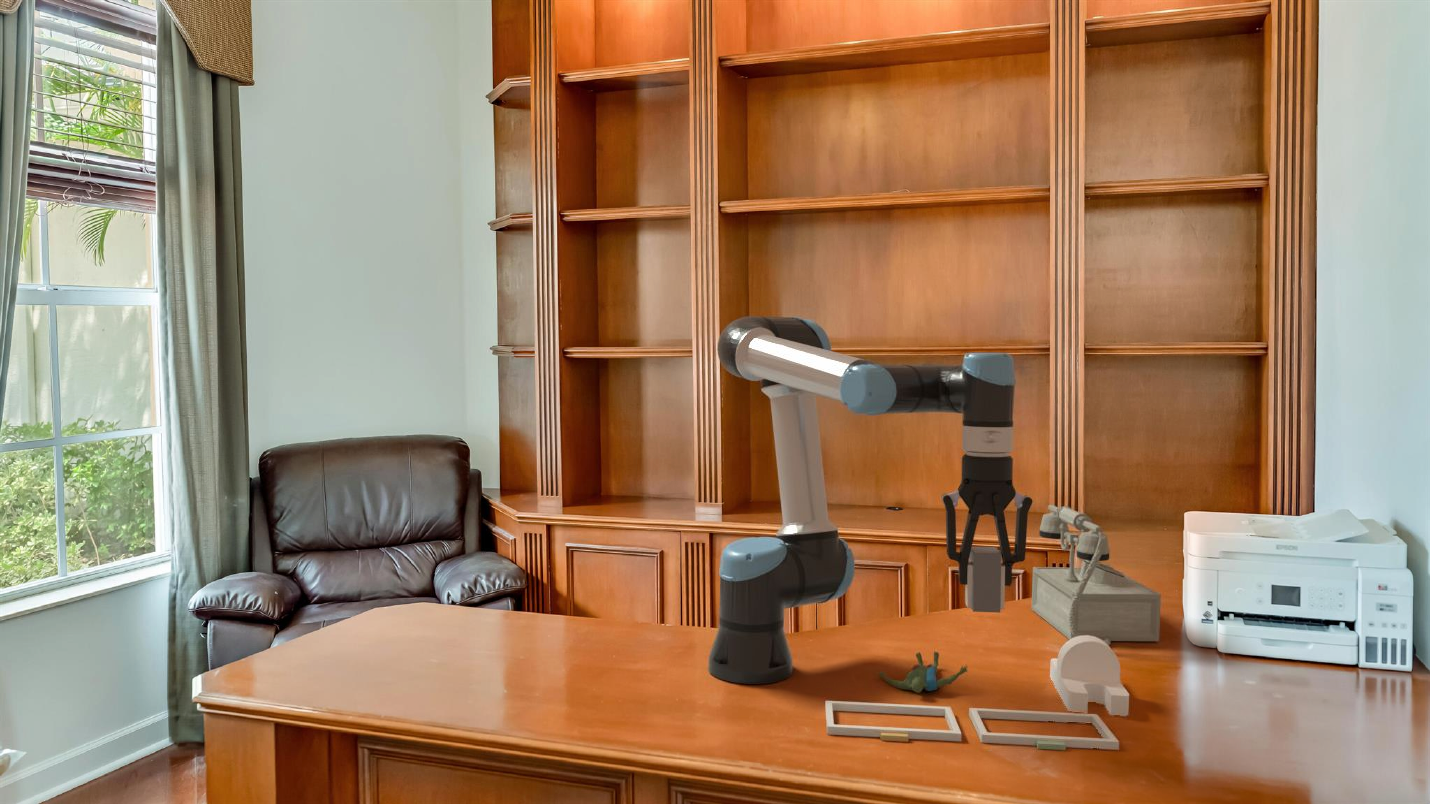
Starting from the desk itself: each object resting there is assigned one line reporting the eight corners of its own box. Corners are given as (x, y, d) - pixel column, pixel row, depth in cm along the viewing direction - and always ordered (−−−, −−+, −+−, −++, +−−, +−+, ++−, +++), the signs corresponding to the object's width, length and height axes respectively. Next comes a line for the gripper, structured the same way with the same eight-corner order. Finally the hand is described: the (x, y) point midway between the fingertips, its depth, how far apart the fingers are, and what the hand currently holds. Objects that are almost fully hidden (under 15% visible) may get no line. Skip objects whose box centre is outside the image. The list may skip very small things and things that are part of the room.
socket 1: (827, 737, 151) (827, 729, 151) (825, 707, 163) (825, 700, 163) (962, 744, 149) (962, 736, 149) (950, 714, 161) (950, 707, 161)
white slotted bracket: (1067, 713, 163) (1070, 652, 163) (1048, 677, 181) (1051, 621, 180) (1129, 718, 162) (1132, 656, 161) (1104, 681, 180) (1106, 625, 179)
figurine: (970, 648, 182) (963, 675, 165) (973, 669, 182) (966, 699, 165) (884, 653, 187) (869, 680, 170) (887, 674, 187) (872, 703, 170)
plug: (973, 611, 151) (974, 552, 151) (967, 602, 157) (968, 545, 156) (1000, 612, 150) (1001, 553, 150) (994, 603, 156) (995, 546, 156)
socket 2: (982, 745, 149) (983, 738, 149) (968, 715, 161) (969, 707, 161) (1121, 753, 147) (1121, 745, 147) (1096, 721, 159) (1097, 714, 159)
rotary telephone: (1174, 653, 196) (1180, 527, 195) (1070, 652, 196) (1076, 525, 194) (1106, 609, 228) (1111, 500, 227) (1017, 607, 228) (1021, 498, 226)
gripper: (932, 455, 150) (930, 610, 151) (1050, 457, 148) (1047, 614, 149) (927, 450, 157) (925, 598, 158) (1040, 452, 155) (1036, 602, 156)
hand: (984, 605), depth 153 cm, fingers closed on plug, 4 cm apart
